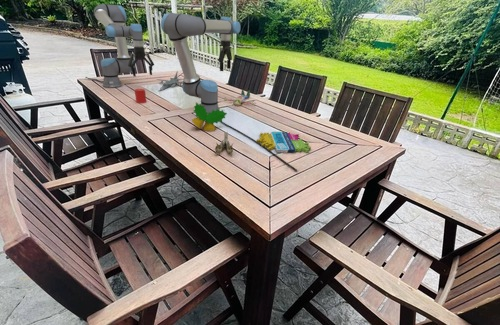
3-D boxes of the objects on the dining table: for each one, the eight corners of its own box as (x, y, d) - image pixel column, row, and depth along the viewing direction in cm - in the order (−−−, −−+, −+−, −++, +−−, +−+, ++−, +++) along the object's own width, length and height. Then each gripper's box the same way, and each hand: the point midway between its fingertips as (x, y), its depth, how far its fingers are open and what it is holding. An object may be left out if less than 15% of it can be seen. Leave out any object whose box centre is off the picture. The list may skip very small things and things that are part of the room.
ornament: (218, 133, 171) (224, 110, 169) (221, 134, 163) (227, 111, 161) (186, 125, 162) (192, 101, 160) (189, 126, 155) (195, 101, 153)
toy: (261, 91, 228) (254, 99, 202) (261, 99, 231) (253, 108, 205) (231, 87, 233) (220, 95, 207) (230, 95, 236) (219, 104, 210)
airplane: (151, 82, 259) (149, 71, 254) (182, 80, 273) (181, 70, 267) (158, 92, 231) (157, 81, 226) (193, 90, 244) (192, 79, 239)
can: (139, 100, 207) (137, 88, 202) (148, 101, 206) (146, 89, 201) (134, 102, 200) (132, 90, 196) (143, 103, 200) (141, 91, 195)
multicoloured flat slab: (313, 150, 142) (258, 149, 139) (312, 153, 143) (258, 152, 140) (301, 132, 164) (254, 130, 161) (301, 134, 165) (254, 133, 162)
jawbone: (234, 135, 144) (233, 125, 135) (233, 160, 138) (232, 151, 129) (217, 135, 144) (216, 125, 135) (216, 160, 138) (214, 150, 129)
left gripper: (124, 47, 189) (129, 77, 199) (156, 46, 205) (159, 74, 215) (120, 46, 193) (125, 76, 203) (151, 45, 209) (155, 73, 219)
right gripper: (227, 39, 208) (227, 67, 219) (213, 40, 187) (213, 71, 198) (236, 40, 206) (235, 68, 217) (223, 41, 185) (222, 72, 196)
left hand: (142, 75), depth 209 cm, fingers open, 13 cm apart
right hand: (225, 69), depth 207 cm, fingers open, 13 cm apart
